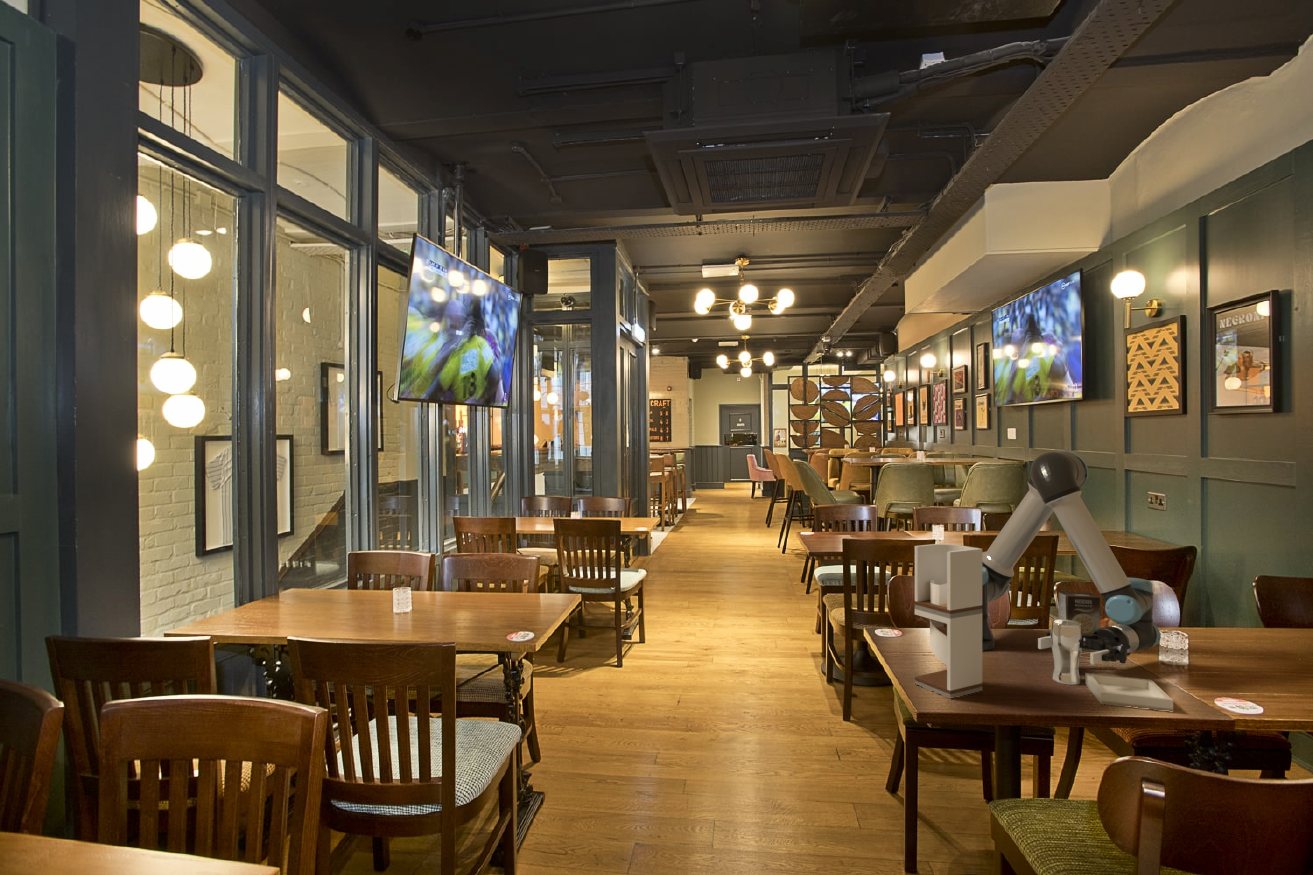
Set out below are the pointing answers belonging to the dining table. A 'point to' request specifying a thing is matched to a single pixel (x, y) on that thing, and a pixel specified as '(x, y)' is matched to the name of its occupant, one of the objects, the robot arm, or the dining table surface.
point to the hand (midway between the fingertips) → (1064, 651)
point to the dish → (1128, 692)
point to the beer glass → (1066, 650)
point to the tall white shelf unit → (951, 615)
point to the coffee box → (1080, 611)
